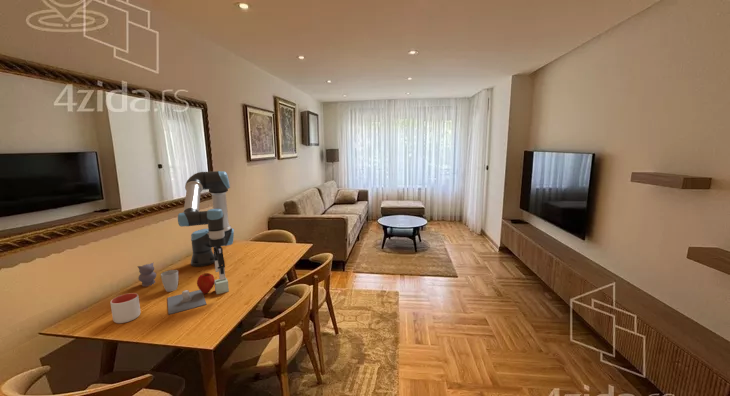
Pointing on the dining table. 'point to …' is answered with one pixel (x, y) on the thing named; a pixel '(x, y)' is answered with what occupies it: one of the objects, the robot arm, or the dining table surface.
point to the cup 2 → (170, 280)
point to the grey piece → (185, 301)
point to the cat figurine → (147, 274)
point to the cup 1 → (125, 308)
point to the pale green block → (221, 286)
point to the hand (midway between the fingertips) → (220, 275)
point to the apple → (205, 282)
